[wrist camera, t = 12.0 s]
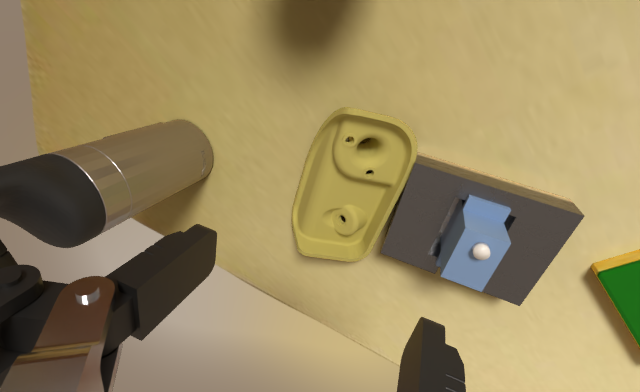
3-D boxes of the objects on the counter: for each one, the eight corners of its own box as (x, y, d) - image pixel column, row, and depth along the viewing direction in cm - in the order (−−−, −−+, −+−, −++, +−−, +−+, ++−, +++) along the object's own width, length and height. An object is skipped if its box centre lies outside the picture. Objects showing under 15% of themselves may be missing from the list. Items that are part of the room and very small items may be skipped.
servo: (436, 248, 39) (434, 292, 32) (466, 183, 35) (473, 218, 28) (469, 260, 38) (475, 308, 31) (504, 195, 34) (521, 234, 27)
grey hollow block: (385, 236, 42) (380, 252, 38) (417, 151, 36) (415, 162, 33) (512, 283, 39) (519, 306, 35) (569, 198, 33) (584, 216, 30)
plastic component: (364, 264, 42) (290, 253, 40) (354, 226, 48) (289, 216, 46) (434, 127, 31) (337, 103, 29) (411, 101, 37) (329, 79, 35)
